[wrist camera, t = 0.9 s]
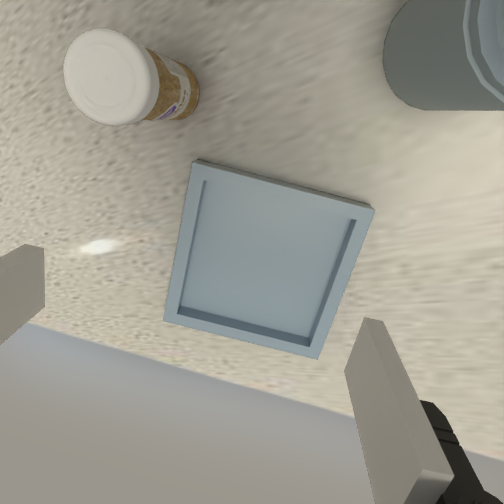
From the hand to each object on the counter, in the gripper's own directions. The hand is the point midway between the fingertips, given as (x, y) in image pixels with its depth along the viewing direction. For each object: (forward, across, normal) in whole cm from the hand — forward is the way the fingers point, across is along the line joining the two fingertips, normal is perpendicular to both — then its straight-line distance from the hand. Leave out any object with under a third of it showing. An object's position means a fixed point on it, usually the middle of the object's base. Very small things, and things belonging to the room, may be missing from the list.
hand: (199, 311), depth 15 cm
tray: (+20, +3, -6) cm, 21 cm away
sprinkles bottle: (+21, -8, +7) cm, 23 cm away
